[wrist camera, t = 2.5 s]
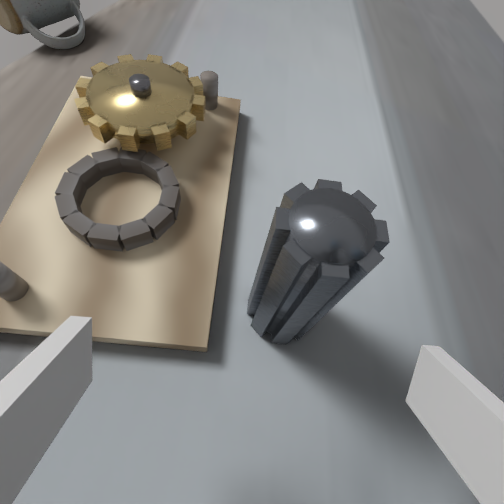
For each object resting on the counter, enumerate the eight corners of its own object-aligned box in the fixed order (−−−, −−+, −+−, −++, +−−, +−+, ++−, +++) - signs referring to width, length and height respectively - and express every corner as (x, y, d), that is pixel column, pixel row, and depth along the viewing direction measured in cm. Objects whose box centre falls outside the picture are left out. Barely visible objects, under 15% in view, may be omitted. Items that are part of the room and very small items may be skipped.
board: (239, 112, 34) (243, 71, 30) (206, 352, 22) (206, 336, 18) (85, 89, 33) (68, 44, 29) (-37, 328, 21) (-94, 306, 17)
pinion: (311, 284, 25) (381, 186, 15) (312, 346, 23) (397, 282, 12) (249, 277, 25) (278, 172, 15) (244, 340, 23) (274, 268, 12)
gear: (212, 99, 32) (212, 53, 28) (196, 176, 27) (193, 133, 23) (108, 83, 32) (93, 34, 28) (72, 160, 27) (48, 113, 23)
